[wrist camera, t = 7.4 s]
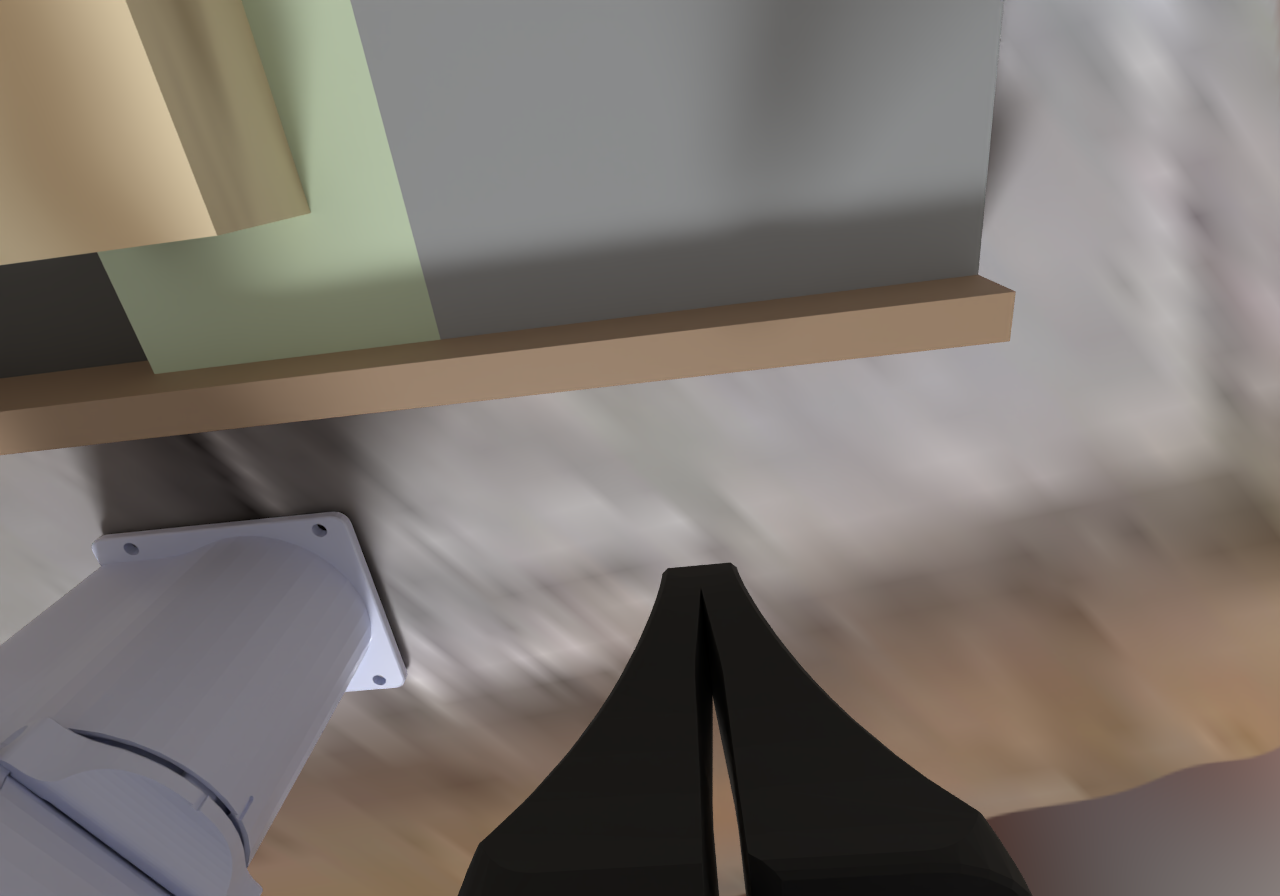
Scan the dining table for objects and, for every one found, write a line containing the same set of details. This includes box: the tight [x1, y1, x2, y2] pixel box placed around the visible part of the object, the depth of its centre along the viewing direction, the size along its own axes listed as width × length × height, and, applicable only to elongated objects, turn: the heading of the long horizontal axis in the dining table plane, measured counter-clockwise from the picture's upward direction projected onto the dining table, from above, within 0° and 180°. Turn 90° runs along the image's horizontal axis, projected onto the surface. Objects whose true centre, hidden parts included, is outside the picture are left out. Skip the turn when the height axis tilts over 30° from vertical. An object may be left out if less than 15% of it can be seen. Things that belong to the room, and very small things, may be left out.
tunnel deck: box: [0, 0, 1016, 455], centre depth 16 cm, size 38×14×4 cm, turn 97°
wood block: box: [0, 0, 311, 265], centre depth 14 cm, size 5×5×4 cm
